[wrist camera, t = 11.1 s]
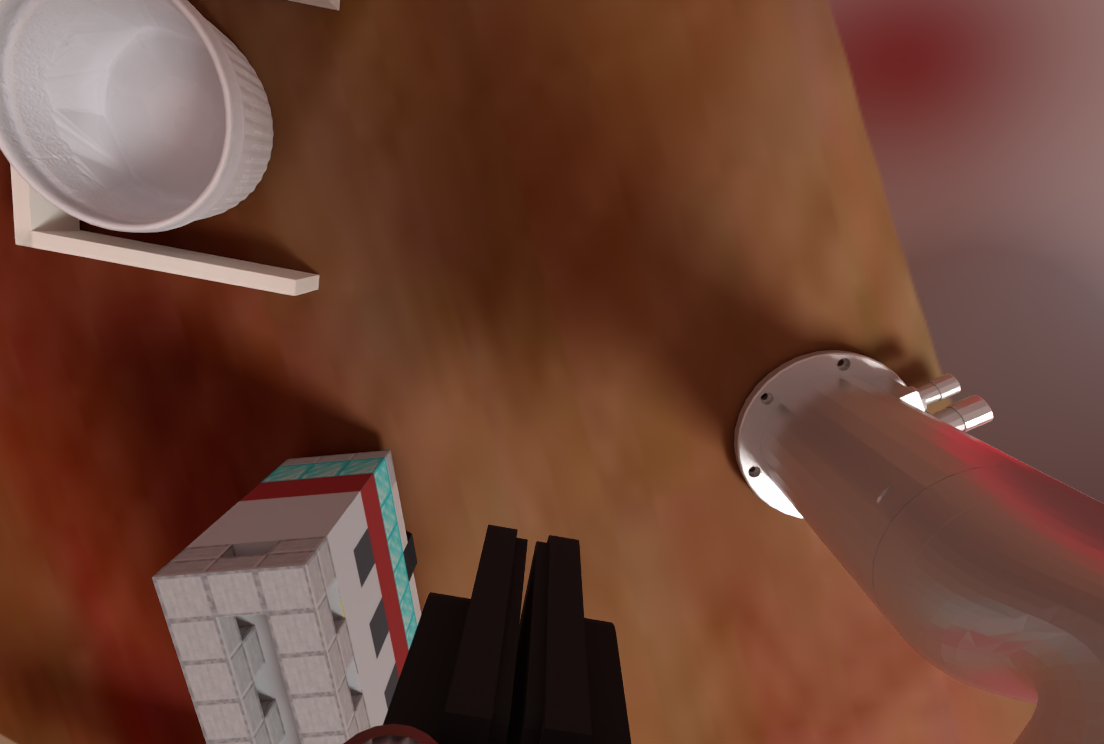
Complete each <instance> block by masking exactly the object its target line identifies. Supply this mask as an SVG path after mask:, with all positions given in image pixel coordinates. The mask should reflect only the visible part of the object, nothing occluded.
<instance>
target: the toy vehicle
mask: <svg viewBox="0 0 1104 744" xmlns="http://www.w3.org/2000/svg"><path fill="white" fill-rule="evenodd" d="M416 564H417V558H416V553H415V547H414V542H413V537H412V534H406V530H405V525H404V520H403V514H402V509H401V503H400V498H399V493H398V487H397V482H396V477H395V471H394V466H393V461H392V455H391V450H384V451H373V452H362V453H350V454H339V455H327V456H316V457H304V458H293V459H287V460H286V461H285V462H284V463H282V464H281V465H280V466H279V467H278V468H277V469H276V470H274V471H273V472H272V473H271V474H270V475H269V476H268V477H266V478H265V479H264V480H263V481H262V482H261V483H260V484H258V485H257V486H256V487H255V488H254V489H253V490H252V491H250V492H249V493H248V494H247V495H246V496H245V497H243V498H242V499H241V500H240V501H239V502H238V503H237V504H235V505H234V506H233V507H232V508H231V509H230V510H229V511H227V512H226V513H225V514H224V515H223V516H222V517H221V518H219V519H218V520H217V521H216V522H215V523H214V524H213V525H211V526H210V527H209V528H208V529H207V530H206V531H204V532H203V533H202V534H201V535H200V536H199V537H198V538H196V539H195V540H194V541H193V542H192V543H191V544H190V545H188V546H187V547H186V548H185V549H184V550H183V551H182V552H180V553H179V554H178V555H177V556H176V557H175V558H174V559H172V560H171V561H170V562H169V563H168V564H167V565H165V566H164V567H163V568H162V569H161V570H160V571H159V572H157V573H156V574H155V575H154V576H153V577H152V579H153V582H154V585H155V588H156V591H157V594H158V598H159V601H160V604H161V607H162V610H163V613H164V616H165V619H166V622H167V625H168V628H169V631H170V634H171V637H172V640H173V643H174V646H175V649H176V652H177V655H178V659H179V662H180V665H181V668H182V671H183V674H184V677H185V680H186V683H187V686H188V689H189V692H190V695H191V698H192V701H193V704H194V707H195V710H196V713H197V716H198V720H199V723H200V726H201V729H202V732H203V735H204V738H205V741H206V744H343V743H345V742H346V741H348V740H349V739H350V738H352V737H353V736H354V735H356V734H357V733H359V732H362V731H364V730H367V729H369V728H372V727H374V726H380V725H383V723H384V720H385V717H386V714H387V711H388V708H389V706H390V703H391V700H392V697H393V694H394V691H395V688H396V686H397V683H398V680H399V677H400V674H401V671H402V668H403V666H404V663H405V660H406V657H407V654H408V651H409V649H410V646H411V643H412V640H413V637H414V634H415V631H416V629H417V626H418V623H419V620H420V617H421V611H420V605H419V600H418V595H417V589H416V584H415V578H414V573H413V571H414V569H415V566H416Z"/></svg>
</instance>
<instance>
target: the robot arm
mask: <svg viewBox="0 0 1104 744" xmlns="http://www.w3.org/2000/svg"><path fill="white" fill-rule="evenodd" d="M839 360H841V361H840V363H839V364H837V363H838V361H839ZM960 391H961V389H960V384H959V383H958V381H957V380H956V378H955V377H954V376H952V375H951V374H945V375H943V376H940V377H938V378H936V379H933V380H931V381H929V382H928V383H927V384H925V385H922V386H920V387H918V388H915V387H913V386H910V387H907V385H906V384H905V383H904V382H903V381H902V379H901V378H900V377H899V376H898V375H897V374H896V373H895V372H894V371H892V370H891V369H890V368H888V367H887V366H885V365H884V364H883V363H881V362H878V361H876V360H874V359H872V358H870V357H867V356H864V355H861V354H858V353H855V352H850V351H841V350H826V351H816V352H812V353H809V354H805V355H801V356H798V357H796V358H794V359H792V360H790V361H787V362H785V363H783V364H782V365H780V366H779V367H777V368H776V369H774V370H773V371H771V372H770V373H769V374H768V375H767V376H765V377H764V378H763V379H762V380H761V381H760V382H759V383H758V384H757V385H756V386H755V388H754V389H753V391H752V392H751V393H750V395H749V396H748V397H747V399H746V401H745V403H744V405H743V407H742V409H741V411H740V413H739V416H738V420H737V424H736V427H735V436H734V449H735V456H736V461H737V464H738V466H739V469H740V472H741V474H742V476H743V477H744V479H745V480H746V482H747V484H748V485H749V487H750V488H751V489H752V490H753V491H754V493H755V494H756V495H757V496H758V497H759V498H760V499H761V500H762V501H764V502H765V503H766V504H767V505H769V506H770V507H772V508H774V509H776V510H778V511H779V512H781V513H783V514H786V515H790V516H793V517H797V518H802V519H805V521H806V522H807V523H808V524H809V525H810V527H811V528H812V529H813V530H814V532H815V533H816V534H817V535H818V536H819V538H820V539H821V540H822V541H823V542H824V544H825V545H826V546H827V547H828V548H829V550H830V551H831V552H832V553H833V554H834V556H835V557H836V558H837V559H838V560H839V562H840V563H841V564H842V565H843V567H844V568H845V569H846V570H847V571H848V573H849V574H850V575H851V576H852V577H853V579H854V580H855V581H856V582H857V583H858V585H859V586H860V587H861V588H862V589H863V591H864V592H865V593H866V594H867V596H868V597H869V598H870V599H871V600H872V602H873V603H874V604H875V605H876V606H877V608H878V609H879V610H880V611H881V612H882V614H883V615H884V616H885V617H886V618H887V620H889V621H890V623H891V624H892V625H893V626H894V627H895V629H896V630H897V631H898V632H899V633H900V635H901V636H902V637H903V638H904V639H905V640H906V641H907V643H908V644H909V645H910V646H911V647H912V648H913V649H914V650H915V651H916V652H917V653H919V654H920V655H921V656H922V657H923V658H924V659H926V660H927V661H928V662H929V663H931V664H932V665H933V666H935V667H936V668H938V669H939V670H941V671H943V672H944V673H946V674H948V675H950V676H951V677H953V678H955V679H957V680H959V681H961V682H963V683H965V684H968V685H970V686H973V687H976V688H979V689H981V690H984V691H987V692H990V693H993V694H997V695H1000V696H1004V697H1008V698H1012V699H1017V700H1021V701H1026V702H1030V703H1036V704H1037V707H1036V709H1035V711H1034V714H1033V716H1032V718H1031V720H1030V721H1029V723H1028V724H1027V725H1026V727H1025V728H1024V730H1023V731H1022V733H1021V734H1020V735H1019V737H1018V738H1017V739H1016V741H1015V742H1014V743H1013V744H1104V504H1103V503H1101V502H1099V501H1097V500H1095V499H1093V498H1091V497H1089V496H1087V495H1085V494H1083V493H1081V492H1080V491H1077V490H1076V489H1073V488H1071V487H1070V486H1068V485H1066V484H1064V483H1062V482H1060V481H1058V480H1056V479H1054V478H1052V477H1050V476H1048V475H1046V474H1044V473H1042V472H1040V471H1038V470H1037V469H1034V468H1033V467H1031V466H1029V465H1027V464H1025V463H1023V462H1021V461H1019V460H1017V459H1015V458H1013V457H1011V456H1009V455H1007V454H1005V453H1004V452H1002V451H1000V450H998V449H996V448H994V447H992V446H990V445H988V444H986V443H984V442H982V441H980V440H978V439H976V438H975V437H973V436H971V435H968V434H967V433H965V432H966V431H968V430H971V429H973V428H976V427H978V426H980V425H983V424H985V423H987V422H990V421H992V419H993V414H992V411H991V409H990V407H989V405H988V404H987V403H986V402H985V401H984V400H983V399H982V398H980V397H979V396H976V395H972V396H970V397H968V398H965V399H963V400H960V401H958V402H956V403H953V404H951V405H949V406H947V407H946V408H945V409H943V410H941V411H938V412H936V413H933V414H930V413H928V412H926V411H925V410H926V409H927V405H928V404H931V403H933V402H935V401H938V400H943V399H945V398H947V397H950V396H952V395H954V394H957V393H959V392H960ZM764 393H766V395H765V397H764V398H761V396H762V395H763V394H764ZM751 467H753V468H752V469H750V468H751ZM516 537H517V529H511V528H505V527H499V526H494V525H488V528H487V532H486V537H485V541H484V545H483V550H482V554H481V558H480V562H479V567H478V571H477V575H476V580H475V584H474V588H473V592H472V597H471V599H467V598H461V597H455V596H449V595H443V594H437V593H431V592H430V594H429V595H428V598H427V600H426V603H425V606H424V609H423V611H422V614H421V617H420V620H419V623H418V626H417V629H416V631H415V634H414V637H413V640H412V643H411V646H410V649H409V651H408V654H407V657H406V660H405V663H404V666H403V668H402V671H401V674H400V677H399V680H398V683H397V686H396V688H395V691H394V694H393V697H392V700H391V703H390V706H389V708H388V711H387V714H386V717H385V720H384V723H383V725H380V726H374V727H372V728H369V729H367V730H364V731H362V732H359V733H357V734H356V735H354V736H353V737H352V738H350V739H349V740H348V741H346V742H345V743H343V744H631V738H630V731H629V724H628V716H627V709H626V702H625V695H624V688H623V681H622V673H621V666H620V659H619V652H618V645H617V637H616V631H615V627H614V625H613V623H611V622H605V621H599V620H593V619H587V618H584V609H583V594H582V578H581V562H580V547H579V540H575V539H569V538H563V537H557V536H552V535H549V537H548V541H547V543H544V542H538V541H537V542H536V545H535V550H534V555H533V560H532V565H531V570H530V575H529V580H528V585H527V590H526V594H525V599H524V604H523V609H522V614H521V619H520V613H521V602H522V592H523V582H524V572H525V562H526V552H527V541H528V540H527V539H521V538H516ZM519 623H520V624H519Z"/></svg>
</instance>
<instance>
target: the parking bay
mask: <svg viewBox="0 0 1104 744" xmlns="http://www.w3.org/2000/svg"><path fill="white" fill-rule="evenodd" d="M289 1H294V2H299V3H304V4H309V5H314V6H319V7H323V8H328V9H333V10H338V11H339V9H340V0H289ZM10 166H11V181H12V196H13V211H14V227H15V242H16V244H17V245H22V246H28V247H33V248H38V249H44V250H49V251H55V252H60V253H65V254H71V255H76V256H82V257H87V258H92V259H98V260H103V261H109V262H114V263H119V264H125V265H130V266H136V267H141V268H146V269H152V270H157V271H163V272H168V273H173V274H179V275H184V276H190V277H195V278H200V279H206V280H211V281H217V282H222V283H227V284H233V285H238V286H244V287H249V288H254V289H260V290H265V291H271V292H276V293H281V294H287V295H292V296H296V295H300V294H304V293H307V292H311V291H314V290H318V288H319V275H318V274H312V273H307V272H302V271H296V270H291V269H286V268H280V267H275V266H270V265H264V264H259V263H254V262H248V261H243V260H237V259H232V258H227V257H221V256H216V255H211V254H205V253H200V252H195V251H189V250H184V249H179V248H173V247H168V246H163V245H157V244H152V243H147V242H141V241H136V240H130V239H125V238H120V237H114V236H109V235H104V234H98V233H93V232H88V231H82V230H80V224H79V219H77V218H75V217H73V216H71V215H69V214H67V213H66V212H64V211H62V210H60V209H59V208H57V207H55V206H54V205H53V204H51V203H50V202H49V201H47V200H46V199H45V198H44V197H42V196H41V195H40V194H39V193H37V192H36V191H35V190H34V189H33V188H32V187H31V186H30V185H29V184H28V183H27V182H26V181H25V180H24V179H23V178H22V177H21V176H20V175H19V174H18V172H17V171H16V170H15V169H14V168H13V166H12V165H11V164H10Z"/></svg>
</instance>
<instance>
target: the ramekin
mask: <svg viewBox="0 0 1104 744" xmlns="http://www.w3.org/2000/svg"><path fill="white" fill-rule="evenodd" d="M272 125H273V119H272V116H271V109H270V106H269V103H268V99H267V95H266V93H265V91H264V88H263V85H262V83H261V81H260V80H259V78H258V76H257V74H256V72H255V70H254V69H253V67H252V66H251V65H250V64H249V62H248V60H247V59H246V57H245V56H244V55H243V54H242V53H241V52H240V51H239V50H238V48H237V47H236V46H235V44H234V43H233V42H232V41H230V40H229V39H228V38H227V37H226V36H225V35H224V34H223V33H222V32H220V31H219V30H218V29H217V28H216V27H215V26H214V25H212V24H211V23H210V22H209V21H208V20H206V19H205V18H204V17H203V16H202V15H201V14H200V13H199V12H198V10H197V9H196V8H195V7H194V6H193V5H192V4H191V3H190V2H189V1H187V0H0V149H1V151H2V152H3V154H4V155H5V157H6V158H7V160H8V161H9V163H10V164H11V165H12V166H13V168H14V169H15V170H16V171H17V172H18V174H19V175H20V176H21V177H22V178H23V179H24V180H25V181H26V182H27V183H28V184H29V185H30V186H31V187H32V188H33V189H34V190H35V191H36V192H37V193H39V194H40V195H41V196H42V197H44V198H45V199H46V200H47V201H49V202H50V203H51V204H53V205H54V206H55V207H57V208H59V209H60V210H62V211H64V212H66V213H67V214H69V215H71V216H73V217H75V218H77V219H79V220H82V221H84V222H86V223H89V224H91V225H95V226H98V227H101V228H105V229H109V230H115V231H122V232H140V233H149V232H161V231H167V230H171V229H175V228H178V227H182V226H184V225H187V224H189V223H191V222H193V221H196V220H200V219H205V218H208V217H212V216H214V215H218V214H221V213H224V212H226V211H227V210H228V209H230V208H233V207H235V206H236V205H238V204H239V202H240V201H242V200H245V199H246V198H247V196H248V195H249V193H251V192H253V191H254V190H255V188H256V185H257V184H258V183H259V182H260V181H261V179H262V176H263V174H264V172H265V171H266V169H267V164H268V161H269V160H270V157H271V150H272V147H273V135H274V134H273V127H272Z"/></svg>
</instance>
